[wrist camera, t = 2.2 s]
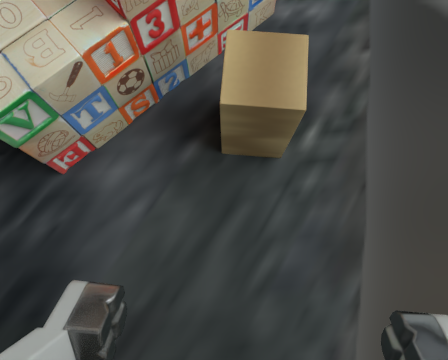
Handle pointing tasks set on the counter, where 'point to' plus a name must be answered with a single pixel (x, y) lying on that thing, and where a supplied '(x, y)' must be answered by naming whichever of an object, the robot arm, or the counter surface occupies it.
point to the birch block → (262, 91)
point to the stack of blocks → (101, 65)
